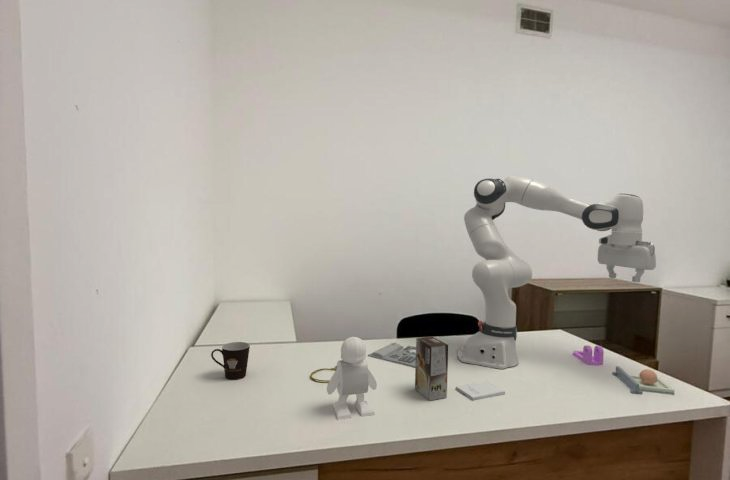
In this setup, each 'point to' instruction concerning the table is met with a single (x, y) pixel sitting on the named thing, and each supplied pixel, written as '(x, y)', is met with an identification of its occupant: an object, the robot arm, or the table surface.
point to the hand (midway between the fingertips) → (623, 279)
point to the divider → (627, 380)
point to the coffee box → (431, 368)
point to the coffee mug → (234, 359)
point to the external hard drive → (480, 390)
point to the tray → (653, 386)
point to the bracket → (590, 355)
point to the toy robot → (352, 378)
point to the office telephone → (396, 354)
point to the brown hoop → (320, 370)
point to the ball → (648, 376)
